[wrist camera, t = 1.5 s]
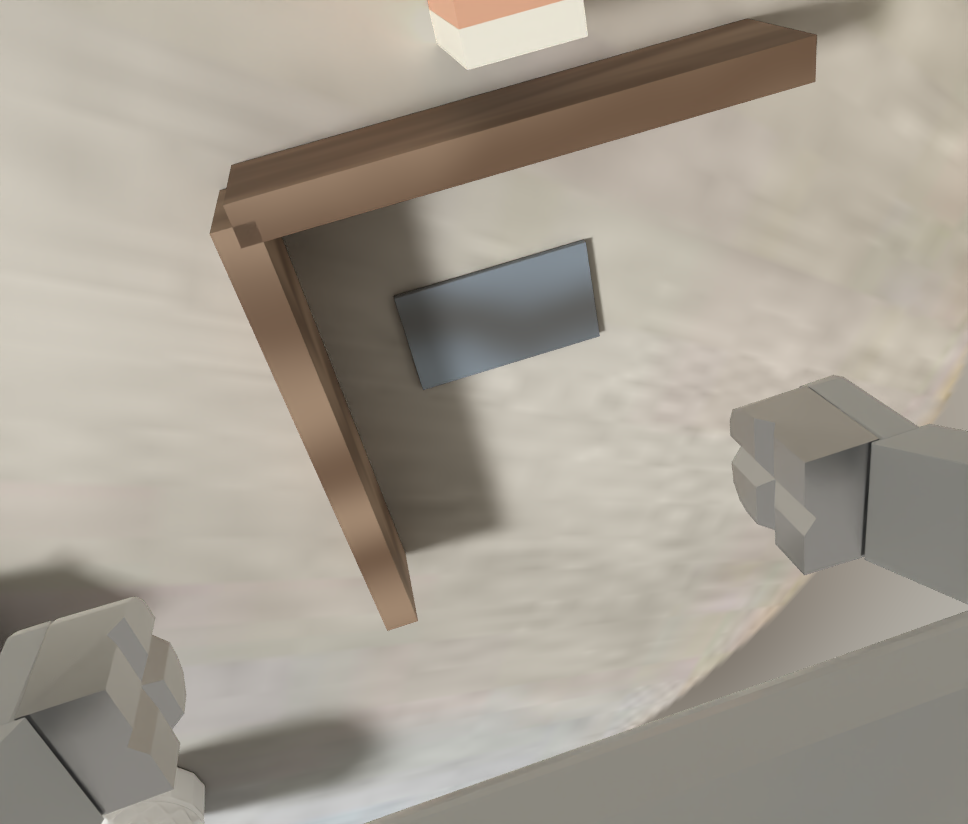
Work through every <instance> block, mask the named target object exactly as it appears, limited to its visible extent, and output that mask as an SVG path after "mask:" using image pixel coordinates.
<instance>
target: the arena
mask: <svg viewBox="0 0 968 824" xmlns="http://www.w3.org/2000/svg"><path fill="white" fill-rule="evenodd" d="M816 44H817V35H816V34H811V33H807V32H803V31H798V30H794V29H790V28H786V27H781V26H777V25H773V24H769V23H764V22H760V21H756V20H751V19H744V20H741V21H737V22H734V23H730V24H726V25H723V26H719V27H716V28H712V29H709V30H705V31H702V32H698V33H695V34H691V35H688V36H684V37H681V38H677V39H674V40H670V41H667V42H663V43H660V44H656V45H653V46H649V47H646V48H642V49H639V50H635V51H632V52H628V53H624V54H621V55H617V56H614V57H610V58H607V59H603V60H600V61H596V62H593V63H589V64H586V65H582V66H579V67H575V68H572V69H568V70H565V71H561V72H558V73H554V74H551V75H547V76H544V77H540V78H537V79H533V80H529V81H526V82H522V83H519V84H515V85H512V86H508V87H505V88H501V89H498V90H494V91H491V92H487V93H484V94H480V95H477V96H473V97H470V98H466V99H463V100H459V101H456V102H452V103H449V104H445V105H442V106H438V107H435V108H431V109H427V110H424V111H420V112H417V113H413V114H410V115H406V116H403V117H399V118H396V119H392V120H389V121H385V122H382V123H378V124H375V125H371V126H368V127H364V128H361V129H357V130H354V131H350V132H347V133H343V134H340V135H336V136H333V137H329V138H325V139H322V140H318V141H315V142H311V143H308V144H304V145H301V146H297V147H294V148H290V149H287V150H283V151H280V152H276V153H273V154H269V155H266V156H262V157H259V158H255V159H252V160H248V161H245V162H241V163H238V164H234V165H231V169H230V174H229V179H228V183H227V188H226V189H223V190H220V192H219V196H218V200H217V204H216V209H215V213H214V217H213V222H212V226H211V230H210V236H211V238H212V240H213V242H214V245H215V247H216V249H217V251H218V254H219V256H220V258H221V260H222V262H223V265H224V267H225V269H226V271H227V274H228V276H229V278H230V280H231V283H232V285H233V287H234V289H235V291H236V294H237V296H238V298H239V300H240V303H241V305H242V307H243V309H244V312H245V314H246V316H247V318H248V321H249V323H250V325H251V327H252V329H253V332H254V334H255V336H256V338H257V341H258V343H259V345H260V347H261V350H262V352H263V354H264V356H265V358H266V361H267V363H268V365H269V367H270V370H271V372H272V374H273V376H274V379H275V381H276V383H277V385H278V387H279V390H280V392H281V394H282V396H283V399H284V401H285V403H286V405H287V408H288V410H289V412H290V414H291V417H292V419H293V421H294V423H295V425H296V428H297V430H298V432H299V434H300V437H301V439H302V441H303V443H304V446H305V448H306V450H307V452H308V454H309V457H310V459H311V461H312V463H313V466H314V468H315V470H316V472H317V475H318V477H319V479H320V481H321V484H322V486H323V488H324V490H325V492H326V495H327V497H328V499H329V501H330V504H331V506H332V508H333V510H334V513H335V515H336V517H337V519H338V521H339V524H340V526H341V528H342V530H343V533H344V535H345V537H346V539H347V542H348V544H349V546H350V548H351V550H352V553H353V555H354V557H355V559H356V562H357V564H358V566H359V568H360V571H361V573H362V575H363V577H364V580H365V582H366V584H367V586H368V588H369V591H370V593H371V595H372V597H373V600H374V602H375V604H376V606H377V609H378V611H379V613H380V615H381V617H382V620H383V622H384V624H385V626H386V629H387V631H388V630H391V629H395V628H398V627H401V626H404V625H407V624H410V623H413V622H416V621H418V619H417V613H416V608H415V603H414V597H413V592H412V587H411V581H410V576H409V570H408V565H407V560H406V554H405V551H404V549H403V546H402V544H401V541H400V539H399V536H398V533H397V531H396V528H395V526H394V523H393V521H392V518H391V516H390V513H389V510H388V508H387V505H386V503H385V500H384V498H383V495H382V493H381V490H380V487H379V485H378V482H377V480H376V477H375V475H374V472H373V470H372V467H371V464H370V462H369V459H368V457H367V454H366V452H365V449H364V447H363V444H362V441H361V439H360V436H359V434H358V431H357V429H356V426H355V424H354V421H353V418H352V416H351V413H350V411H349V408H348V406H347V403H346V401H345V398H344V395H343V393H342V390H341V388H340V385H339V383H338V380H337V378H336V375H335V373H334V370H333V367H332V365H331V362H330V360H329V357H328V355H327V352H326V350H325V347H324V344H323V342H322V339H321V337H320V334H319V332H318V329H317V327H316V324H315V321H314V319H313V316H312V314H311V311H310V309H309V306H308V304H307V301H306V298H305V296H304V293H303V291H302V288H301V286H300V283H299V281H298V278H297V275H296V273H295V270H294V268H293V265H292V263H291V260H290V258H289V255H288V252H287V250H286V247H285V245H284V242H283V240H282V237H283V236H286V235H290V234H293V233H296V232H300V231H303V230H307V229H310V228H314V227H317V226H321V225H324V224H327V223H331V222H334V221H338V220H341V219H345V218H348V217H351V216H355V215H358V214H362V213H365V212H369V211H372V210H376V209H379V208H382V207H386V206H389V205H393V204H396V203H400V202H403V201H407V200H410V199H413V198H417V197H420V196H424V195H427V194H431V193H434V192H438V191H441V190H444V189H448V188H451V187H455V186H458V185H462V184H465V183H469V182H472V181H475V180H479V179H482V178H486V177H489V176H493V175H496V174H499V173H503V172H506V171H510V170H513V169H517V168H520V167H524V166H527V165H530V164H534V163H537V162H541V161H544V160H548V159H551V158H555V157H558V156H561V155H565V154H568V153H572V152H575V151H579V150H582V149H586V148H589V147H592V146H596V145H599V144H603V143H606V142H610V141H613V140H616V139H620V138H623V137H627V136H630V135H634V134H637V133H641V132H644V131H647V130H651V129H654V128H658V127H661V126H665V125H668V124H672V123H675V122H678V121H682V120H685V119H689V118H692V117H696V116H699V115H703V114H706V113H709V112H713V111H716V110H720V109H723V108H727V107H730V106H733V105H737V104H740V103H744V102H747V101H751V100H754V99H758V98H761V97H764V96H768V95H771V94H775V93H778V92H782V91H785V90H789V89H792V88H795V87H799V86H802V85H806V84H809V83H813V82H815V76H816ZM394 299H395V303H396V306H397V309H398V312H399V315H400V318H401V321H402V325H403V328H404V331H405V334H406V337H407V340H408V344H409V347H410V350H411V353H412V356H413V359H414V362H415V366H416V369H417V372H418V375H419V378H420V381H421V385H422V388H423V390H425V389H428V388H431V387H435V386H438V385H441V384H444V383H448V382H451V381H454V380H458V379H461V378H464V377H467V376H471V375H474V374H477V373H481V372H484V371H487V370H490V369H494V368H497V367H500V366H504V365H507V364H510V363H513V362H517V361H520V360H523V359H526V358H530V357H533V356H536V355H540V354H543V353H546V352H549V351H553V350H556V349H559V348H563V347H566V346H569V345H572V344H576V343H579V342H582V341H585V340H589V339H592V338H595V337H599V336H600V335H599V328H598V321H597V315H596V308H595V301H594V294H593V288H592V281H591V274H590V268H589V261H588V254H587V247H586V242H585V241H584V240H581V241H578V242H575V243H571V244H568V245H565V246H561V247H558V248H554V249H551V250H548V251H544V252H541V253H538V254H534V255H531V256H528V257H524V258H521V259H518V260H514V261H511V262H507V263H504V264H501V265H497V266H494V267H491V268H487V269H484V270H481V271H477V272H474V273H470V274H467V275H464V276H460V277H457V278H454V279H450V280H447V281H444V282H440V283H437V284H433V285H430V286H427V287H423V288H420V289H417V290H413V291H410V292H407V293H403V294H400V295H396V296H394Z"/></svg>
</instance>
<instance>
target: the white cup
mask: <svg viewBox="0 0 968 824" xmlns="http://www.w3.org/2000/svg"><path fill="white" fill-rule="evenodd" d="M204 810H205V785H204V784H203V783H202V782H201V781H200V780H199V779H198V778H197V776H196V775H195V774H194V773H192V772H189V771H186V770H184V769H181V768H178V767H177V770H176V777H175V784H174V789H173V790H171V791H168V792H165V793H162V794H160V795H157V796H154V797H152V798H149V799H146V800H143V801H141V802H138V803H135V804H133V805H130V806H127V807H124V808H122V809H119V810H116V811H114V812H111V813H108V814H106V815H103V817H104V820H103V822H102V823H101V824H204Z"/></svg>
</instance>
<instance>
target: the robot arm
mask: <svg viewBox="0 0 968 824" xmlns="http://www.w3.org/2000/svg"><path fill="white" fill-rule="evenodd" d="M730 436H731V437H732V438H733V439H734V440H735V441H736V442H737V443H738V444H739V445H740V446H741V447H740V449H739V450H738V452H737V454H736V456H735V457H734V459H733V461H732V470H733V481H734V484H735V487H736V490H737V493H738V496H739V499H740V501H741V503H742V504H743V506H744V508H745V510H746V511H747V513H748V514H749V515H750V516H751V517H752V519H753V520H754V521H755V522H756V523H757V524H758V525H761V526H764V527H768V528H771V529H774V530H775V543H776V545H777V546H778V547H779V548H780V550H781V551H782V552H783V553H784V554H785V555H786V556H787V557H788V558H789V559H790V560H791V561H792V563H793V564H794V565H795V566H796V567H797V568H798V569H799V570H800V571H801V572H802V573H803V574H804V575H807V574H810V573H813V572H816V571H820V570H823V569H826V568H829V567H833V566H836V565H839V564H842V563H846V562H849V561H852V560H855V559H858V558H862V557H865V560H866V561H869V562H871V563H873V564H876V565H878V566H880V567H883V568H885V569H888V570H890V571H892V572H894V573H897V574H899V575H901V576H903V577H906V578H908V579H910V580H913V581H915V582H917V583H920V584H922V585H924V586H927V587H929V588H931V589H933V590H936V591H938V592H940V593H943V594H945V595H947V596H950V597H952V598H954V599H956V600H959V601H961V602H963V603H966V604H968V431H966V430H960V429H955V428H949V427H944V426H939V425H933V424H928V425H924V426H921V427H918V426H917V425H915V424H914V423H912V422H911V421H909V420H908V419H906V418H905V417H903V416H902V415H900V414H899V413H897V412H896V411H894V410H893V409H891V408H890V407H888V406H886V405H885V404H883V403H882V402H880V401H879V400H877V399H876V398H874V397H873V396H871V395H870V394H868V393H867V392H865V391H864V390H862V389H861V388H859V387H858V386H856V385H855V384H853V383H852V382H850V381H849V380H847V379H846V378H844V377H842V376H836V375H832V376H829V377H826V378H823V379H820V380H817V381H814V382H812V383H809V384H806V385H803V386H800V387H799V388H797V389H794V390H791V391H788V392H785V393H782V394H779V395H776V396H773V397H769V398H766V399H763V400H760V401H757V402H754V403H751V404H748V405H745V406H742V407H739V408H736V409H733V410H732V414H731V418H730ZM154 622H155V617H154V615H153V614H152V612H151V611H150V609H149V608H148V606H147V605H146V603H145V602H144V600H143V599H140V598H137V597H135V596H134V597H130V598H127V599H123V600H120V601H116V602H113V603H110V604H106V605H103V606H99V607H96V608H92V609H89V610H86V611H82V612H79V613H75V614H72V615H68V616H65V617H62V618H58V619H56V620H54V621H48V622H45V623H42V624H39V625H35V626H32V627H29V628H26V629H23V630H20V631H17V632H15V633H14V634H13V635H11V636H10V637H8V638H7V640H6V642H5V645H4V647H3V649H2V652H1V654H0V824H101V823H102V822H103V820H104V817H103V815H106V814H108V813H111V812H114V811H116V810H119V809H122V808H124V807H127V806H130V805H133V804H135V803H138V802H141V801H143V800H146V799H149V798H152V797H154V796H157V795H160V794H162V793H165V792H168V791H171V790H173V789H174V784H175V777H176V770H177V763H178V755H179V748H180V742H179V740H178V739H177V737H176V735H175V734H174V732H173V731H172V729H173V728H174V726H175V725H176V724H177V722H178V721H179V720H180V718H181V717H182V716H183V714H184V711H185V702H186V689H185V681H184V673H183V670H182V667H181V664H180V662H179V659H178V656H177V654H176V653H175V651H174V649H173V647H172V646H171V644H170V642H168V641H165V640H163V639H161V638H159V637H156V636H154V635H152V632H153V627H154ZM364 824H968V611H965V612H962V613H960V614H957V615H954V616H951V617H948V618H945V619H943V620H940V621H937V622H934V623H931V624H929V625H926V626H923V627H920V628H917V629H915V630H912V631H909V632H906V633H903V634H901V635H898V636H895V637H892V638H889V639H886V640H884V641H881V642H878V643H875V644H872V645H870V646H867V647H864V648H861V649H859V650H856V651H853V652H850V653H847V654H844V655H842V656H839V657H836V658H833V659H830V660H827V661H824V662H821V663H819V664H816V665H813V666H810V667H807V668H804V669H801V670H799V671H796V672H793V673H790V674H787V675H784V676H782V677H779V678H776V679H773V680H770V681H767V682H764V683H761V684H759V685H756V686H753V687H750V688H747V689H744V690H742V691H739V692H736V693H733V694H730V695H727V696H724V697H721V698H719V699H716V700H713V701H710V702H707V703H704V704H702V705H699V706H696V707H693V708H690V709H687V710H685V711H681V712H679V713H676V714H673V715H670V716H667V717H665V718H661V719H659V720H656V721H653V722H650V723H647V724H644V725H641V726H639V727H636V728H633V729H630V730H627V731H624V732H622V733H619V734H616V735H613V736H610V737H607V738H605V739H602V740H599V741H596V742H593V743H590V744H588V745H585V746H582V747H579V748H576V749H573V750H571V751H568V752H565V753H562V754H559V755H556V756H554V757H551V758H548V759H545V760H542V761H540V762H537V763H534V764H531V765H528V766H525V767H523V768H520V769H517V770H514V771H511V772H508V773H506V774H503V775H500V776H497V777H494V778H491V779H489V780H486V781H483V782H480V783H477V784H474V785H472V786H469V787H466V788H463V789H460V790H457V791H455V792H452V793H449V794H446V795H443V796H440V797H438V798H435V799H432V800H429V801H426V802H423V803H421V804H418V805H415V806H412V807H409V808H406V809H404V810H401V811H398V812H395V813H392V814H390V815H387V816H384V817H381V818H378V819H375V820H373V821H370V822H367V823H364Z"/></svg>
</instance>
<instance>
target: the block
mask: <svg viewBox="0 0 968 824" xmlns="http://www.w3.org/2000/svg"><path fill="white" fill-rule="evenodd" d="M428 5H429V12H430V16H431V20H432V25H433V29H434V33H435V38H436V42H437V44H438V45H439V46H440V47H441V48H442V49H443V50H445V51H446V52H447V53H448V54H449V55H450V56H452V57H453V58H454V59H455V60H456V61H457V62H459V63H460V64H461V65H462V66H463V67H464V68H465V69H467V70H470V69H474V68H477V67H481V66H484V65H488V64H492V63H495V62H499V61H502V60H506V59H509V58H513V57H516V56H520V55H523V54H527V53H531V52H534V51H538V50H541V49H545V48H548V47H552V46H555V45H559V44H562V43H566V42H570V41H573V40H577V39H580V38H584V37H587V36H588V33H587V25H586V17H585V9H584V2H583V0H428Z"/></svg>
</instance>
